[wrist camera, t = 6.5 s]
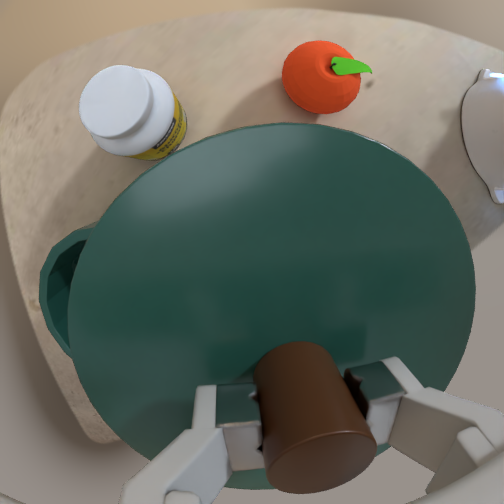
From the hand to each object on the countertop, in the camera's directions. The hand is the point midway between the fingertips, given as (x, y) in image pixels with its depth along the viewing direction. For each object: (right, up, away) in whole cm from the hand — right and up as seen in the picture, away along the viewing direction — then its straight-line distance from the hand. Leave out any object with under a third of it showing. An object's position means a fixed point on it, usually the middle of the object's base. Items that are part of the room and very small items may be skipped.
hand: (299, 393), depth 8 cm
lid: (0, 0, +1) cm, 2 cm away
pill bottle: (-10, +15, +19) cm, 26 cm away
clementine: (+5, +20, +19) cm, 28 cm away
